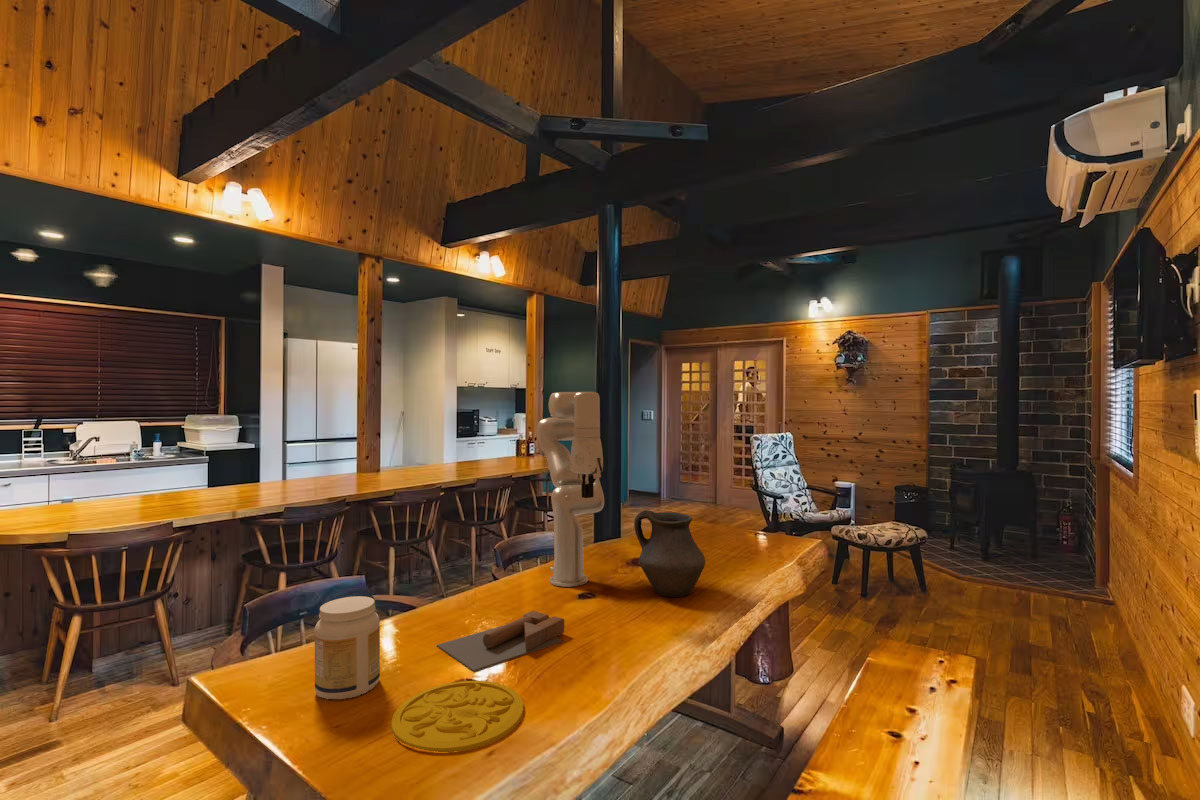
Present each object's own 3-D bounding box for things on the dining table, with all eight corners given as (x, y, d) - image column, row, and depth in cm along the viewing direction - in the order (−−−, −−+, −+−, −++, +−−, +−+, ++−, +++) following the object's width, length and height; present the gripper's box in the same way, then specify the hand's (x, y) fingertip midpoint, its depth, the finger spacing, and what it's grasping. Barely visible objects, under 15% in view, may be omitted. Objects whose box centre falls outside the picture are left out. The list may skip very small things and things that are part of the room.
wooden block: (564, 633, 143) (515, 658, 128) (532, 624, 149) (481, 647, 134) (564, 618, 143) (515, 641, 128) (532, 610, 149) (481, 631, 134)
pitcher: (704, 605, 163) (703, 518, 164) (629, 601, 167) (629, 516, 168) (706, 584, 183) (705, 506, 184) (639, 581, 187) (638, 505, 188)
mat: (436, 646, 136) (436, 644, 136) (521, 621, 152) (521, 620, 152) (473, 672, 122) (473, 670, 122) (562, 641, 138) (562, 640, 138)
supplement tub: (361, 668, 124) (361, 590, 125) (391, 685, 117) (391, 601, 117) (303, 690, 115) (303, 605, 115) (331, 709, 107) (332, 618, 108)
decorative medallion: (445, 678, 120) (445, 669, 120) (545, 698, 111) (545, 688, 112) (361, 738, 98) (361, 726, 98) (477, 769, 90) (477, 756, 90)
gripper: (561, 434, 169) (561, 496, 168) (593, 435, 157) (594, 501, 157) (580, 433, 173) (581, 493, 173) (613, 434, 162) (614, 498, 162)
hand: (587, 497), depth 165 cm, fingers closed
